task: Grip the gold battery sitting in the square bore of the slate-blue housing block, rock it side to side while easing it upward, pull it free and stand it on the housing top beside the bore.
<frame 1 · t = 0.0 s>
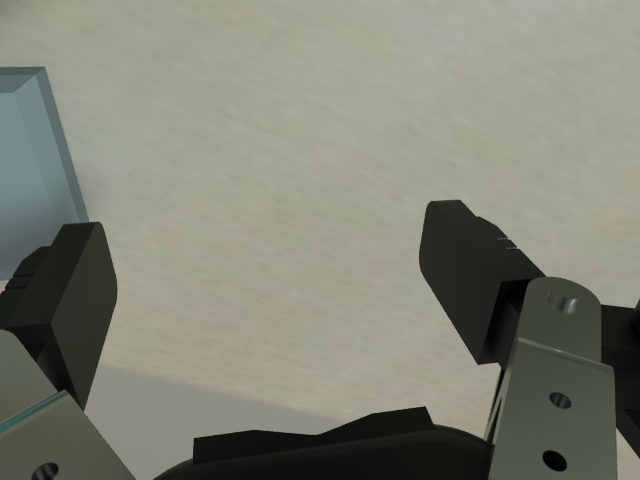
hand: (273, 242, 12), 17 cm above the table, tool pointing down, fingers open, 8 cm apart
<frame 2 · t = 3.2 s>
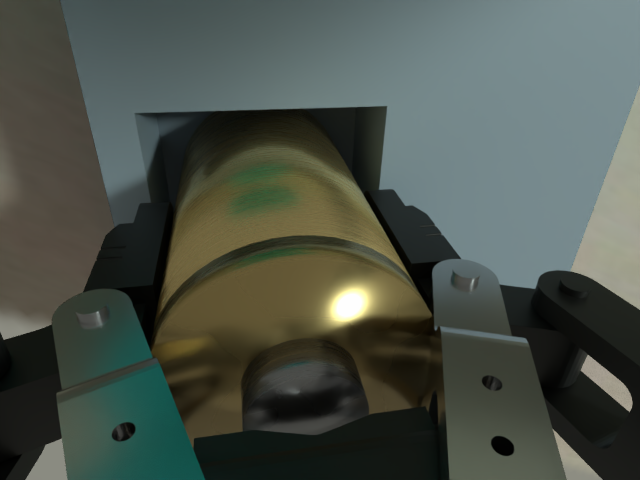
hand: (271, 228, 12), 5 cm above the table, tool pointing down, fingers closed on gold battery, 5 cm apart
gold battery: (262, 174, 15), point 1 cm above the table, touching gripper, housing
housing: (343, 140, 17), on the table
when the fingers open (9 cm above the table, at t = 8.8 s): gold battery stays where it is, resting on housing.
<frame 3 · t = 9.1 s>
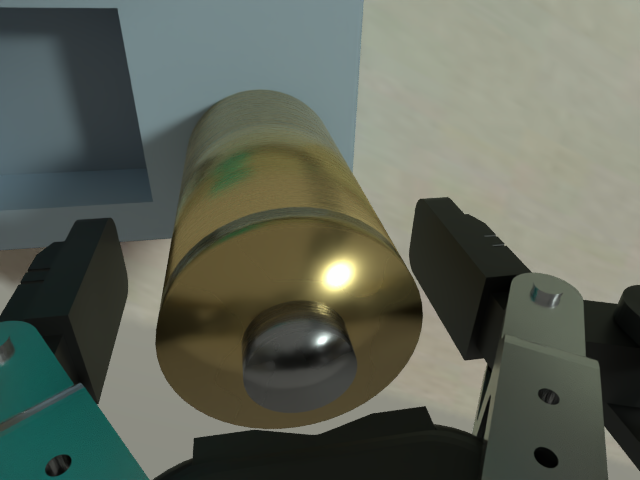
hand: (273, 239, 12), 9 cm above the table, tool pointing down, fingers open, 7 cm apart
gold battery: (262, 163, 16), point 4 cm above the table, touching housing
housing: (152, 67, 18), on the table
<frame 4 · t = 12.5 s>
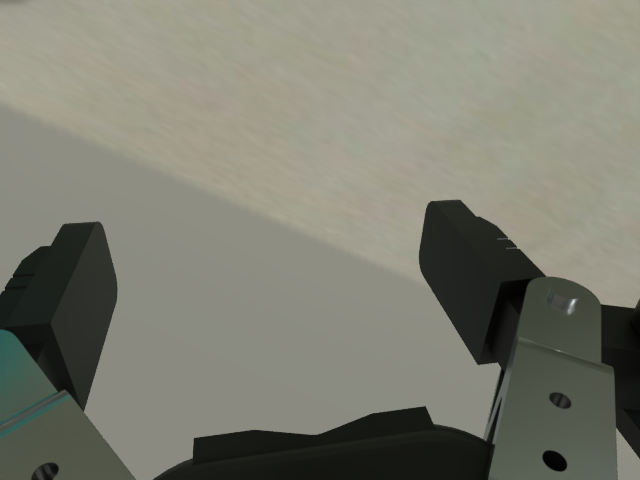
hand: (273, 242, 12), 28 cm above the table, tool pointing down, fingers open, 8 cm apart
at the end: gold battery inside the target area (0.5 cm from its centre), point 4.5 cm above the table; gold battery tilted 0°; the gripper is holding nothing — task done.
